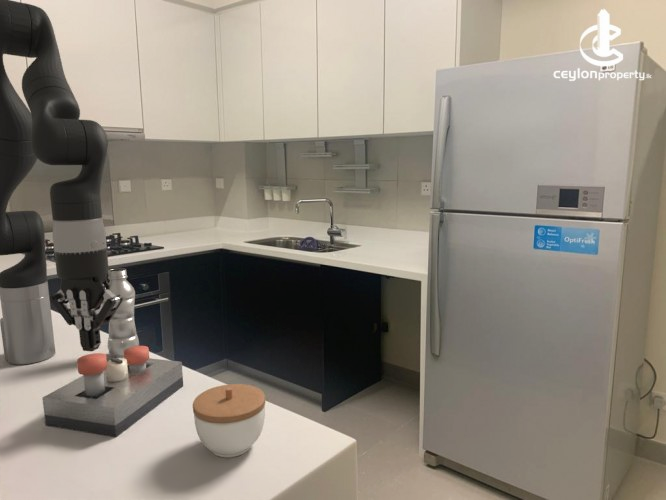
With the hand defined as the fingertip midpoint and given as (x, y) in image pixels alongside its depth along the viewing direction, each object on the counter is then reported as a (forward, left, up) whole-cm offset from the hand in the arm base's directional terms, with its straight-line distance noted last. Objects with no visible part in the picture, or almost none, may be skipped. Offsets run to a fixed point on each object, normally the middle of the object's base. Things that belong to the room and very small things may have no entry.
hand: (91, 349), depth 81 cm
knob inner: (0, +11, -10) cm, 15 cm away
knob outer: (0, 0, -8) cm, 8 cm away
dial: (0, +6, -7) cm, 9 cm away
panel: (0, +6, -12) cm, 14 cm away
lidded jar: (+26, -1, -13) cm, 29 cm away
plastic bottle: (-15, +26, -13) cm, 32 cm away
